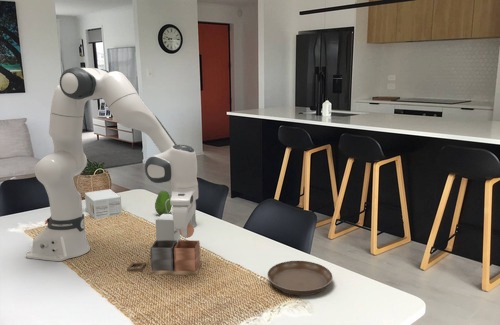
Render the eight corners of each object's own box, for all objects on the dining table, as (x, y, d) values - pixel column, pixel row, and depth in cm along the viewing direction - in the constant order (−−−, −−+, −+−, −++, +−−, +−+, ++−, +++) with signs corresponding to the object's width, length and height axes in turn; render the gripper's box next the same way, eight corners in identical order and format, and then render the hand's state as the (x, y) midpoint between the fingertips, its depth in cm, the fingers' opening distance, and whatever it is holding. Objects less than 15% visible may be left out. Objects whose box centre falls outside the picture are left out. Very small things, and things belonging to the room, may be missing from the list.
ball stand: (126, 271, 151) (126, 268, 151) (131, 265, 156) (131, 262, 156) (141, 271, 151) (141, 268, 151) (146, 265, 156) (145, 262, 156)
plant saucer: (316, 306, 128) (316, 295, 127) (255, 288, 139) (255, 278, 138) (341, 278, 145) (342, 269, 144) (286, 264, 156) (286, 256, 155)
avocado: (170, 217, 209) (169, 192, 206) (153, 217, 209) (152, 192, 206) (173, 212, 216) (172, 188, 214) (157, 212, 217) (156, 188, 214)
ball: (178, 240, 148) (177, 225, 147) (181, 234, 153) (180, 220, 152) (192, 240, 148) (192, 225, 147) (195, 234, 153) (194, 220, 152)
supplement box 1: (85, 210, 221) (84, 192, 219) (111, 206, 228) (110, 188, 226) (94, 219, 207) (93, 200, 205) (122, 214, 214) (121, 195, 212)
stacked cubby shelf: (150, 274, 149) (148, 249, 147) (157, 263, 158) (155, 239, 156) (197, 274, 148) (196, 249, 146) (201, 263, 157) (200, 239, 155)
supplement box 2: (174, 252, 168) (173, 220, 165) (156, 250, 169) (154, 219, 167) (181, 244, 175) (180, 214, 172) (163, 243, 176) (162, 213, 174)
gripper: (181, 185, 158) (183, 222, 160) (168, 201, 138) (170, 243, 140) (199, 185, 157) (200, 222, 160) (188, 202, 137) (190, 243, 140)
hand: (186, 232), depth 150 cm, fingers closed on ball, 5 cm apart
